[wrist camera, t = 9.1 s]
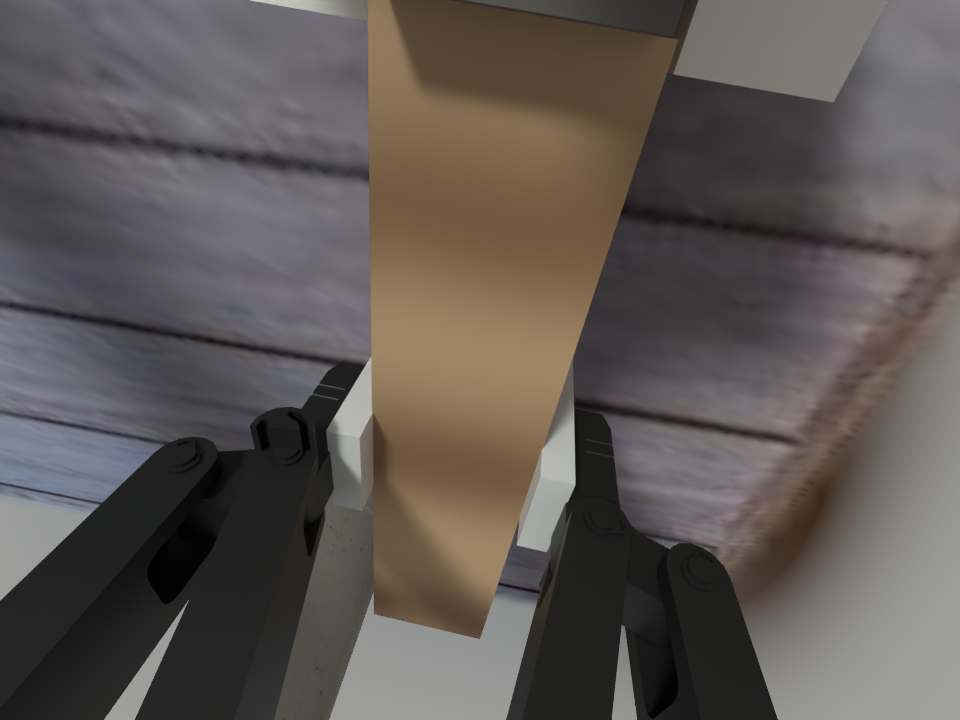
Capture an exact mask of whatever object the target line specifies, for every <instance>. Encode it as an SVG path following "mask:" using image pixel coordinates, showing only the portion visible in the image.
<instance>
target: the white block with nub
mask: <svg viewBox="0 0 960 720" xmlns="http://www.w3.org/2000/svg"><path fill="white" fill-rule="evenodd" d="M251 1H257V2H263V3H268V4H274V5H280V6H285V7H291V8H297V9H303V10H308V11H314V12H320V13H325V14H331V15H337V16H343V17H348V18H354V19H360V20H365V21H368V0H251ZM888 1H889V0H685V2H684V5H683V8H682V12H681V15H680V18H679V21H678V24H677V27H676V30H675V33H674V36H660V37H665V38H671V39H677V40H678V42H677V45H676V48H675V51H674V54H673V57H672V60H671V63H670V66H669V69H668V73H671V74H674V75H680V76H685V77H691V78H697V79H702V80H708V81H714V82H720V83H725V84H731V85H737V86H742V87H748V88H754V89H759V90H765V91H771V92H777V93H782V94H788V95H794V96H799V97H805V98H811V99H817V100H822V101H828V102H834V101H835V99H836V97H837V95H838V94H839V92H840V90H841V88H842V86H843V84H844V82H845V81H846V79H847V77H848V75H849V73H850V71H851V70H852V68H853V66H854V64H855V62H856V60H857V58H858V57H859V55H860V53H861V51H862V49H863V47H864V45H865V44H866V42H867V40H868V38H869V36H870V34H871V33H872V31H873V29H874V27H875V25H876V23H877V21H878V20H879V18H880V16H881V14H882V12H883V10H884V8H885V7H886V5H887V3H888Z"/></svg>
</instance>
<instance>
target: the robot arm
mask: <svg viewBox="0 0 960 720" xmlns="http://www.w3.org/2000/svg"><path fill="white" fill-rule="evenodd" d="M250 429H251V433H252V437H253V441H254V445H255V449H251V450H242V451H222V452H218V450H217V448H216V446H215V445H214V443H213V442H212V441H209V440H207V439H205V438H200V437H188V438H182V439H178V440H175V441H173V442H171V443H168V444H166V445H164V446H163V447H162V448H160V449H159V450H158V451H156V452H155V453H154V454H153V455H152V456H151V457H150V458H149V459H148V460H147V461H146V462H144V463H143V464H142V465H141V466H140V467H139V468H138V469H137V470H136V471H135V472H134V473H133V474H132V475H131V476H130V477H129V478H128V479H127V480H126V481H125V482H124V483H123V484H122V485H121V486H119V487H118V488H117V489H116V490H115V491H114V492H113V493H112V494H111V495H110V496H109V497H108V498H107V499H106V500H105V501H104V502H103V503H102V504H101V505H100V506H99V507H98V508H97V509H96V510H94V511H93V512H92V513H91V514H90V515H89V516H88V517H87V518H86V519H85V520H84V521H83V522H82V523H81V524H80V525H79V526H78V527H77V528H76V529H75V530H74V531H73V532H72V533H71V534H69V536H67V537H66V538H65V539H64V540H63V541H62V542H61V543H60V544H59V545H58V546H57V547H56V548H55V549H54V550H53V551H52V552H51V553H50V554H49V555H48V556H47V557H45V558H44V559H43V560H42V561H41V562H40V563H39V564H38V565H37V566H36V567H35V568H34V569H33V570H32V571H31V572H30V573H29V574H28V575H27V576H26V577H25V578H24V579H23V580H22V581H21V582H19V583H18V584H17V585H16V586H15V587H14V588H13V589H12V590H11V591H10V592H9V593H8V594H7V595H6V596H5V597H4V598H3V599H2V600H1V601H0V720H104V719H105V717H106V716H107V714H108V713H109V712H110V710H111V709H112V707H113V706H114V705H115V703H116V702H117V700H118V699H119V697H120V696H121V695H122V693H123V692H124V690H125V689H126V688H127V686H128V685H129V683H130V682H131V681H132V679H133V678H134V676H135V675H136V674H137V672H138V671H139V669H140V668H141V666H142V665H143V664H144V662H145V661H146V659H147V658H148V657H149V655H150V653H151V652H152V651H153V650H154V648H155V647H156V645H157V644H158V642H159V641H160V639H161V638H162V637H163V635H164V634H165V633H166V631H167V630H168V628H169V627H170V625H171V624H172V623H173V621H174V620H175V618H176V617H177V616H178V614H179V613H180V611H181V610H182V609H183V607H184V606H185V604H186V603H187V601H188V600H189V601H188V604H187V606H186V608H185V610H184V612H183V615H182V617H181V619H180V621H179V623H178V626H177V628H176V630H175V632H174V634H173V637H172V639H171V641H170V643H169V646H168V648H167V650H166V652H165V654H164V657H163V659H162V661H161V663H160V665H159V668H158V670H157V672H156V674H155V676H154V679H153V681H152V683H151V686H150V687H149V690H148V692H147V694H146V696H145V698H144V701H143V703H142V705H141V707H140V709H139V712H138V714H137V716H136V719H135V720H274V718H275V715H276V711H277V707H278V703H279V699H280V695H281V691H282V687H283V683H284V679H285V675H286V671H287V668H288V664H289V660H290V656H291V652H292V648H293V644H294V640H295V636H296V632H297V628H298V624H299V621H300V617H301V613H302V609H303V605H304V601H305V597H306V593H307V589H308V585H309V581H310V577H311V574H312V570H313V566H314V562H315V558H316V554H317V550H318V546H319V542H320V538H321V534H322V531H323V527H324V523H325V506H326V504H327V502H328V500H329V498H330V496H331V494H332V493H333V503H334V505H338V506H342V507H347V508H351V509H356V510H360V511H363V508H364V506H365V504H366V501H367V499H368V497H369V494H370V492H371V490H372V487H373V485H374V474H373V412H372V370H371V357H370V359H369V361H368V362H367V364H366V366H362V365H357V364H352V363H347V362H341V363H340V364H338V365H337V366H335V367H333V368H332V369H330V370H329V371H328V372H327V373H326V375H325V376H324V378H323V379H322V380H321V382H320V385H318V386H317V388H316V389H315V390H314V392H313V395H311V396H310V397H309V399H308V400H307V402H306V403H305V404H304V406H303V407H302V409H298V408H293V407H283V408H276V409H273V410H270V411H267V412H265V413H264V414H262V415H260V416H259V417H257V418H256V419H255V421H254V422H253V423H252V424H251V426H250ZM613 456H614V454H613V447H612V436H611V429H610V427H609V425H608V424H607V422H606V420H605V419H604V417H603V415H601V414H597V413H592V412H587V411H582V410H578V409H574V380H573V359H572V362H571V365H570V368H569V371H568V374H567V377H566V380H565V383H564V386H563V389H562V392H561V395H560V398H559V401H558V404H557V407H556V410H555V413H554V416H553V419H552V422H551V425H550V428H549V431H548V434H547V437H546V440H545V443H544V446H543V449H542V451H541V454H540V457H539V460H538V463H537V466H536V469H535V472H534V475H533V478H532V481H531V484H530V487H529V490H528V493H527V496H526V499H525V502H524V506H523V509H522V512H521V515H520V518H519V529H518V539H517V546H522V547H526V548H530V549H535V550H539V551H544V552H547V550H548V548H549V545H550V543H551V558H550V561H549V564H548V566H547V568H546V570H545V573H544V575H543V577H542V579H541V582H540V584H539V586H541V590H540V593H539V597H538V601H537V605H536V609H535V612H534V616H533V620H532V624H531V628H530V632H529V635H528V639H527V643H526V647H525V651H524V655H523V658H522V662H521V666H520V670H519V673H518V677H517V681H516V685H515V689H514V693H513V696H512V700H511V704H510V708H509V712H508V715H507V719H506V720H612V710H613V701H614V690H615V681H616V672H617V662H618V653H619V643H620V634H621V625H623V626H625V630H626V637H627V645H628V653H629V660H630V667H631V676H632V683H633V690H634V698H635V706H636V713H637V720H778V719H777V716H776V713H775V710H774V707H773V704H772V701H771V698H770V695H769V692H768V689H767V686H766V683H765V680H764V677H763V674H762V671H761V668H760V665H759V662H758V659H757V656H756V653H755V650H754V648H753V644H752V641H751V639H750V635H749V633H748V630H747V627H746V624H745V621H744V618H743V615H742V612H741V609H740V606H739V603H738V600H737V597H736V594H735V591H734V588H733V585H732V582H731V579H730V577H729V575H728V573H727V571H726V569H725V567H724V566H723V565H722V564H721V563H720V562H719V560H718V559H717V558H716V557H715V556H714V555H712V554H711V553H710V552H708V551H707V550H705V549H704V548H702V547H699V546H696V545H693V544H691V543H679V544H677V545H675V546H673V547H672V548H671V549H668V548H666V547H664V546H662V545H661V544H659V543H657V542H655V541H653V540H651V539H649V538H647V537H646V536H644V535H642V534H641V533H639V532H638V531H637V530H636V529H634V528H633V527H632V526H631V525H630V523H629V521H628V519H627V518H626V516H625V514H624V513H623V512H622V511H621V509H620V505H619V499H618V490H617V481H616V472H615V463H614V459H613Z"/></svg>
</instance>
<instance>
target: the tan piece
mask: <svg viewBox="0 0 960 720" xmlns="http://www.w3.org/2000/svg"><path fill="white" fill-rule="evenodd" d="M684 2H685V0H368V87H369V181H370V276H371V370H372V412H373V474H374V485H373V559H374V614H377V615H381V616H385V617H389V618H394V619H398V620H402V621H406V622H411V623H415V624H419V625H424V626H428V627H432V628H436V629H441V630H445V631H449V632H453V633H457V634H461V635H466V636H470V637H474V638H479V639H480V636H481V633H482V631H483V627H484V624H485V621H486V618H487V615H488V612H489V609H490V606H491V603H492V600H493V597H494V594H495V591H496V588H497V585H498V582H499V579H500V576H501V573H502V570H503V567H504V564H505V561H506V558H507V555H508V552H509V549H510V546H511V543H512V540H513V537H514V534H515V531H516V528H517V525H518V522H519V518H520V515H521V512H522V509H523V506H524V502H525V499H526V496H527V493H528V490H529V487H530V484H531V481H532V478H533V475H534V472H535V469H536V466H537V463H538V460H539V457H540V454H541V451H542V449H543V446H544V443H545V440H546V437H547V434H548V431H549V428H550V425H551V422H552V419H553V416H554V413H555V410H556V407H557V404H558V401H559V398H560V395H561V392H562V389H563V386H564V383H565V380H566V377H567V374H568V371H569V368H570V365H571V362H572V359H573V356H574V353H575V350H576V347H577V344H578V341H579V338H580V335H581V332H582V329H583V326H584V323H585V320H586V317H587V314H588V311H589V308H590V305H591V301H592V298H593V295H594V292H595V289H596V286H597V283H598V280H599V277H600V274H601V271H602V268H603V265H604V262H605V259H606V256H607V253H608V250H609V247H610V244H611V241H612V238H613V235H614V232H615V229H616V226H617V223H618V220H619V217H620V214H621V211H622V208H623V205H624V202H625V199H626V196H627V193H628V190H629V187H630V184H631V181H632V178H633V175H634V172H635V169H636V166H637V163H638V160H639V157H640V154H641V151H642V148H643V145H644V142H645V138H646V135H647V132H648V129H649V126H650V123H651V120H652V117H653V114H654V111H655V108H656V105H657V102H658V99H659V96H660V93H661V90H662V87H663V84H664V81H665V78H666V75H667V72H668V69H669V66H670V63H671V60H672V57H673V54H674V51H675V48H676V45H677V42H678V40H677V39H671V38H665V37H660V36H674V33H675V30H676V27H677V24H678V21H679V18H680V15H681V12H682V8H683V5H684Z"/></svg>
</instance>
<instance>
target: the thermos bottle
mask: <svg viewBox="0 0 960 720" xmlns="http://www.w3.org/2000/svg"><path fill="white" fill-rule="evenodd" d="M373 591H374V559H373V487H372V490H371V492H370V494H369V497H368V499H367V501H366V504H365V506H364V508H363V511H360V510H356V509H351V508H347V507H342V506H338V505H334V503H333V493H332V494H331V496H330V498H329V500H328V502H327V504H326V506H325V523H324V527H323V531H322V534H321V538H320V542H319V546H318V550H317V554H316V558H315V562H314V566H313V570H312V574H311V577H310V581H309V585H308V589H307V593H306V597H305V601H304V605H303V609H302V613H301V617H300V621H299V624H298V628H297V632H296V636H295V640H294V644H293V648H292V652H291V656H290V660H289V664H288V668H287V671H286V675H285V679H284V683H283V687H282V691H281V695H280V699H279V703H278V707H277V711H276V715H275V718H274V720H329V718H330V715H331V712H332V709H333V707H334V704H335V701H336V698H337V695H338V692H339V689H340V686H341V683H342V681H343V678H344V675H345V672H346V669H347V666H348V663H349V660H350V657H351V655H352V652H353V649H354V646H355V643H356V640H357V637H358V634H359V631H360V629H361V626H362V623H363V620H364V617H365V614H366V611H367V608H368V606H369V603H370V600H371V597H372V594H373Z"/></svg>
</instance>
